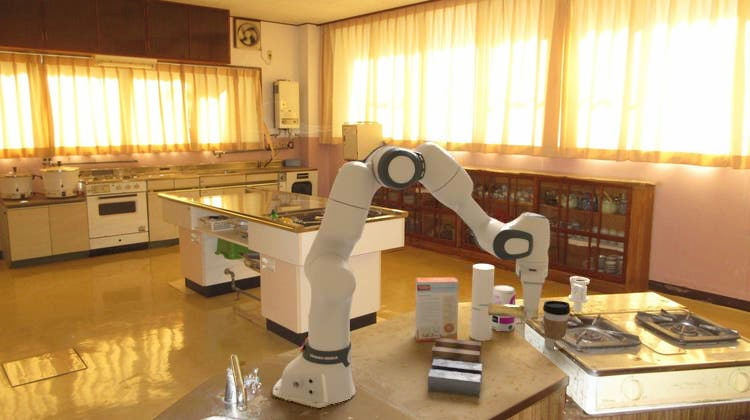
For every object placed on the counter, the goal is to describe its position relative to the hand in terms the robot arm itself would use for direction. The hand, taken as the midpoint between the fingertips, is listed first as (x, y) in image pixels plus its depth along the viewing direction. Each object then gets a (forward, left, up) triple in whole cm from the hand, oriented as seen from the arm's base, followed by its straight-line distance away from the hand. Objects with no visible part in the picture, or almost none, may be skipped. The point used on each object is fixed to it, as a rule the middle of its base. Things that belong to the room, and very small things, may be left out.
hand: (528, 314), depth 158 cm
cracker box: (-29, +19, -18) cm, 39 cm away
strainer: (+21, +57, -18) cm, 63 cm away
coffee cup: (+10, +22, -18) cm, 30 cm away
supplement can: (-7, +34, -18) cm, 39 cm away
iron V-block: (-19, -13, -18) cm, 29 cm away
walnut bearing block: (-20, 0, -18) cm, 27 cm away
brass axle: (-4, 0, +1) cm, 5 cm away
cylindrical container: (-14, +24, -18) cm, 33 cm away
